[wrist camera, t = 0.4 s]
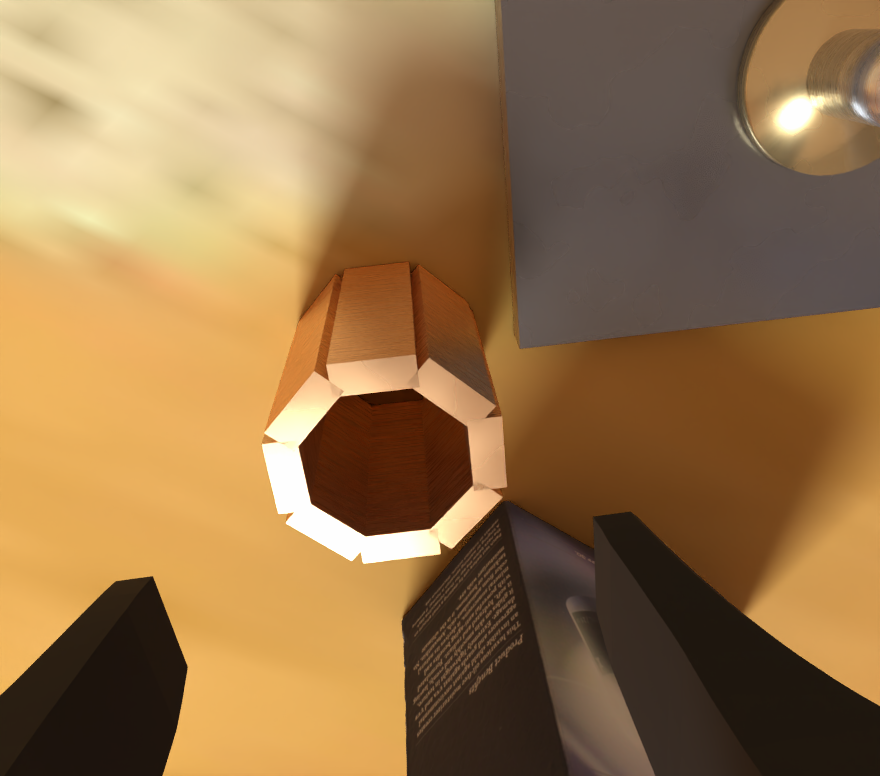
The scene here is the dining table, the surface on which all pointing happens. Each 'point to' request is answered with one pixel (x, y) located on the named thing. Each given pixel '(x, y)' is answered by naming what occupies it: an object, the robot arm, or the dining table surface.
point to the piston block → (688, 162)
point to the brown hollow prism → (386, 418)
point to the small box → (515, 662)
